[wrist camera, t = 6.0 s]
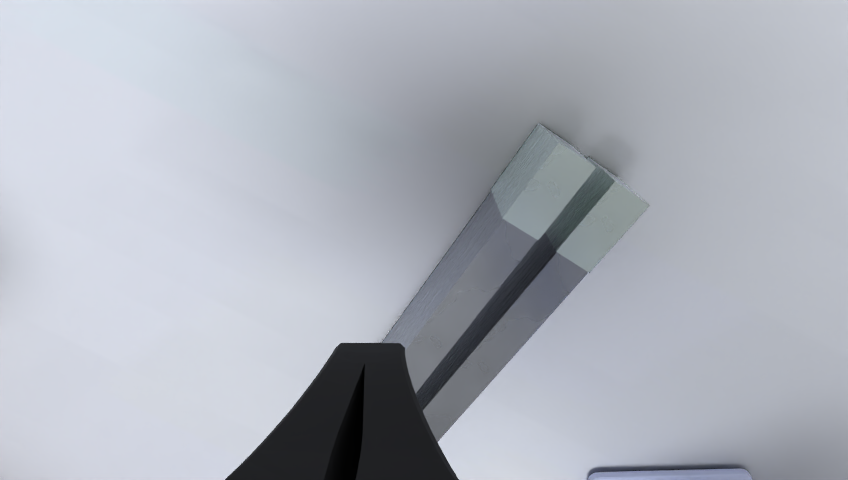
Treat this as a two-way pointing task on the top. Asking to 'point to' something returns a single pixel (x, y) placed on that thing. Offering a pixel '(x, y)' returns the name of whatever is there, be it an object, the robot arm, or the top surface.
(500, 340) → the bar
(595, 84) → the top surface
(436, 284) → the tongs moving leg
